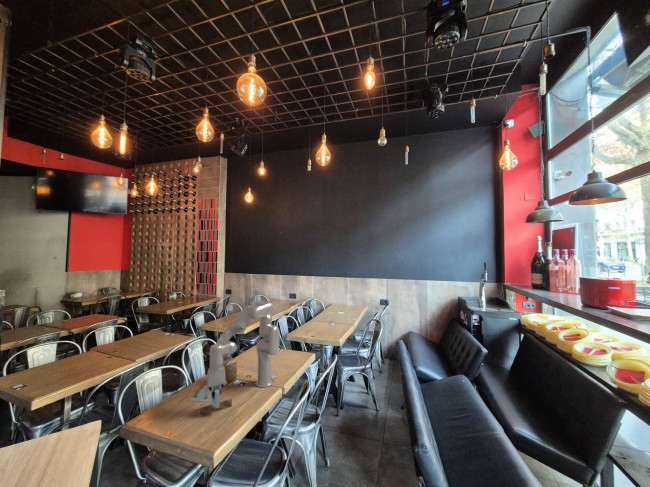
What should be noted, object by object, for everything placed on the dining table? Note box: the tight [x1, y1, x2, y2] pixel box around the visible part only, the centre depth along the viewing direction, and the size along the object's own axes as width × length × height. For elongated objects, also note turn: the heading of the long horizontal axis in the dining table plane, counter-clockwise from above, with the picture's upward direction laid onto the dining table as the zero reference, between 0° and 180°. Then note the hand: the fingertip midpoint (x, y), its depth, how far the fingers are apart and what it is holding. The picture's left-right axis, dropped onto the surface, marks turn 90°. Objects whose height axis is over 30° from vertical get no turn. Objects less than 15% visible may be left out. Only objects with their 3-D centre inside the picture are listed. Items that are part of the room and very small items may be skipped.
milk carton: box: [223, 355, 238, 387], centre depth 195 cm, size 11×11×19 cm
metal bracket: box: [189, 385, 213, 404], centre depth 173 cm, size 14×6×15 cm
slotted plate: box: [212, 385, 221, 408], centre depth 157 cm, size 10×2×9 cm, turn 32°
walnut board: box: [198, 398, 233, 417], centre depth 157 cm, size 18×1×4 cm, turn 122°
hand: (215, 396), depth 157 cm, fingers closed on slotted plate, 2 cm apart
